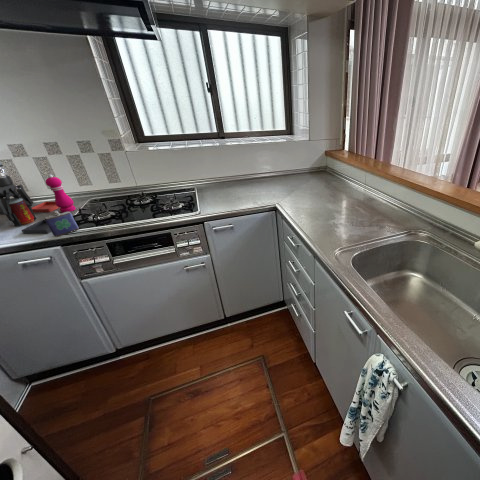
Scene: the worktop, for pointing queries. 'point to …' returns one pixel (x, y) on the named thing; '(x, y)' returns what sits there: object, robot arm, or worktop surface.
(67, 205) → the pepper mill
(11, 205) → the soda can
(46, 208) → the red tray
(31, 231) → the charcoal tray
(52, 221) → the flask
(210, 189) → the worktop surface
